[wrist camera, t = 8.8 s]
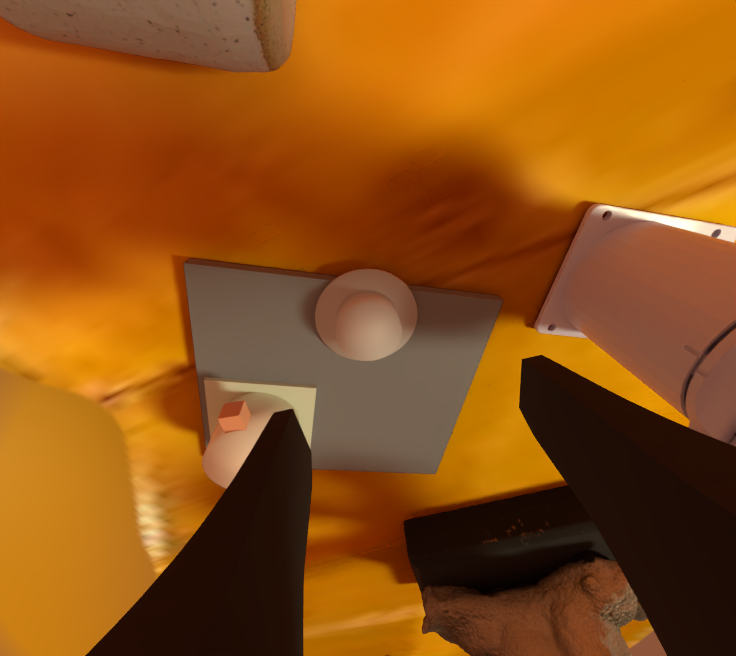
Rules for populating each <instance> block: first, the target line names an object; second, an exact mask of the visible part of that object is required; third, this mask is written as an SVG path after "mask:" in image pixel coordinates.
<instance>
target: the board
mask: <svg viewBox="0 0 736 656" xmlns="http://www.w3.org/2000/svg"><path fill="white" fill-rule="evenodd" d="M183 264H184V272H185V280H186V288H187V296H188V305H189V313H190V321H191V329H192V337H193V345H194V354H195V362H196V370H197V378H198V386H199V395H200V403H201V411H202V419H203V427H204V435H205V444H206V449H207V446H208V444H209V442H210V439H211V437H212V435H213V432H214V430H215V428H216V425H217V423H218V417H219V415H220V412H221V410H222V408H223V405H224V404H225V403H228V402H229V401H231V400H232V399H234V398H235V397H237V396H240V395H243V394H247V393H254V392H260V393H268V394H272V395H275V396H278V397H280V398H282V399H284V400H286V401H287V402H288V403H290V404H291V405H292V406H293V407H294V409H295V410H296V412H297V414H298V417H299V424H300V426H301V428H302V431H303V433H304V435H305V438H306V440H307V442H308V445H309V447H310V449H311V454H312V469H318V470H344V471H369V472H394V473H420V474H436V472H437V469H438V467H439V464H440V462H441V459H442V457H443V454H444V451H445V449H446V446H447V444H448V441H449V439H450V436H451V434H452V431H453V429H454V426H455V423H456V421H457V418H458V416H459V413H460V411H461V408H462V406H463V403H464V401H465V398H466V395H467V393H468V390H469V388H470V385H471V383H472V380H473V378H474V375H475V373H476V370H477V368H478V365H479V362H480V360H481V357H482V355H483V352H484V350H485V347H486V345H487V342H488V340H489V337H490V334H491V332H492V329H493V327H494V324H495V322H496V319H497V317H498V314H499V312H500V309H501V306H502V304H503V300H502V299H501V298H500V297H499V296H498V295H489V294H481V293H473V292H465V291H456V290H448V289H440V288H432V287H423V286H415V285H407V284H405V283H404V282H403V281H402V280H401V279H400V278H398V277H397V276H395V275H393V274H391V273H389V272H386V271H383V270H379V269H373V268H363V269H356V270H352V271H349V272H346V273H344V274H342V275H340V276H332V275H324V274H316V273H308V272H299V271H291V270H283V269H275V268H266V267H258V266H250V265H242V264H233V263H225V262H217V261H209V260H200V259H192V258H189V259H188V260H187V261H185V262H184V263H183Z"/></svg>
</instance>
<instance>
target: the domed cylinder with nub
mask: <svg viewBox="0 0 736 656" xmlns="http://www.w3.org/2000/svg"><path fill="white" fill-rule="evenodd" d="M288 409H293V410H294V412H295V414H296V417H297V419H298V421H299V417H298V414H297V412H296V410H295V409H294V407H293V406H292V405H291V404H290V403H288V402H287V401H286V400H284V399H282V398H280V397H278V396H275V395H272V394H268V393H260V392H254V393H247V394H243V395H240V396H237V397H235V398H234V399H232V400H231V401H229V402H228V403H225V404H224V405H223V408H222V410H221V412H220V415H219V417H218V423H217V425H216V428H215V430H214V432H213V435H212V437H211V439H210V442H209V444H208V446H207V449H206V451H205V453H204V456H203V460H202V465H203V469H204V471H205V473H206V474H207V476H208V477H209V478H210V479H211V480H212V481H213V482H215V483H216V484H218V485H219V486H221V487H223V488H226V489H227V488H228V486H229V485H230V483H231V482H232V480H233V479H234V477H235V476H236V474H237V472H238V471H239V469H240V468H241V466H242V464H243V463H244V461H245V460H246V458H247V456H248V455H249V453H250V451H251V450H252V448H253V446H254V445H255V443H256V441H257V440H258V438H259V436H260V435H261V433H262V431H263V429H264V428H265V426H266V424H267V423H268V421H269V419H270V418H271V416H272V415H273V413H274V412H279V411H283V410H288Z"/></svg>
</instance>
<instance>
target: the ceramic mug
mask: <svg viewBox="0 0 736 656" xmlns="http://www.w3.org/2000/svg"><path fill="white" fill-rule="evenodd" d="M295 9H296V0H0V17H1V18H3V19H4V20H6V21H8V22H9V23H11V24H13V25H14V26H16V27H17V28H19V29H21V30H24V31H26V32H28V33H30V34H32V35H35V36H38V37H41V38H43V39H47V40H52V41H58V42H64V43H70V44H77V45H83V46H88V47H94V48H100V49H105V50H111V51H117V52H122V53H128V54H134V55H139V56H145V57H151V58H157V59H167V60H172V61H178V62H183V63H189V64H194V65H200V66H205V67H210V68H216V69H221V70H226V71H232V72H269V71H274V70H277V69H278V68H280V67H281V66H282V65H283V64H284V63H285V62H286V60H287V59H288V58H289V55H290V52H291V48H292V41H293V33H294V22H295Z"/></svg>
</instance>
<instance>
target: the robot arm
mask: <svg viewBox="0 0 736 656" xmlns="http://www.w3.org/2000/svg"><path fill="white" fill-rule="evenodd" d="M606 211H607V214H606V216H605V217H604V218H603V219H602V216H603V214H604V213H605V212H606ZM712 233H713V234H712ZM735 240H736V227H733V226H728V225H722V224H716V223H711V222H705V221H699V220H693V219H687V218H681V217H675V216H669V215H664V214H658V213H652V212H646V211H640V210H634V209H628V208H622V207H617V206H611V205H605V204H594V205H592V206H591V207H589V208H588V210H587V211H586V214H585V216H584V218H583V220H582V222H581V224H580V227H579V229H578V231H577V233H576V235H575V237H574V240H573V242H572V244H571V246H570V248H569V250H568V253H567V255H566V257H565V259H564V261H563V263H562V266H561V268H560V270H559V272H558V274H557V276H556V279H555V281H554V283H553V285H552V287H551V289H550V292H549V294H548V296H547V298H546V300H545V302H544V305H543V307H542V309H541V311H540V313H539V316H538V318H537V320H536V322H535V325H534V327H535V329H536V330H537V331H538V332H539V333H544V334H553V335H563V336H572V337H582V338H589V339H590V340H591V341H593V342H594V343H595V344H596V345H598V346H599V347H600V348H601V349H602V350H604V351H605V352H606V353H607V354H609V355H610V356H611V357H612V358H614V359H615V360H616V361H617V362H619V363H620V364H621V365H622V366H623V367H625V368H626V369H627V370H628V371H630V372H631V373H632V374H633V375H635V376H636V377H637V378H638V379H640V380H641V381H642V382H643V383H644V384H646V385H647V386H648V387H649V388H651V389H652V390H653V391H654V392H656V393H657V394H658V395H659V396H661V397H662V398H663V399H664V400H666V401H667V402H668V403H669V404H670V405H672V406H673V407H674V408H675V409H677V410H678V411H679V412H680V413H682V414H683V415H684V416H685V417H687V418H688V419H689V420H690V424H689V427H685V426H683V425H681V424H678V423H676V422H674V421H671V420H669V419H667V418H665V417H663V416H660V415H658V414H656V413H654V412H652V411H650V410H647V409H645V408H643V407H641V406H639V405H637V404H635V403H633V402H631V401H629V400H627V399H625V398H622V397H620V396H618V395H617V394H615V393H613V392H611V391H609V390H607V389H605V388H603V387H601V386H599V385H597V384H595V383H593V382H592V381H590V380H588V379H586V378H584V377H582V376H580V375H578V374H577V373H575V372H573V371H571V370H569V369H567V368H566V367H564V366H562V365H560V364H558V363H556V362H554V361H552V360H551V359H549V358H547V357H545V356H543V355H539V356H535V357H530V358H525V359H522V367H521V384H520V402H519V408H520V410H521V412H522V414H523V416H524V418H525V420H526V422H527V424H528V426H529V427H530V429H531V431H532V433H533V435H534V436H535V438H536V439H537V441H538V442H539V444H540V445H541V447H542V448H543V450H544V451H545V452H546V454H547V455H548V457H549V458H550V460H551V461H552V463H553V464H554V465H555V467H556V468H557V470H558V471H559V472H560V474H561V475H562V477H563V478H564V479H565V481H566V482H567V484H568V485H569V487H570V488H571V489H572V491H573V492H574V494H575V495H576V496H577V498H578V499H579V501H580V502H581V504H582V505H583V506H584V508H585V510H586V511H587V513H588V514H589V516H590V517H591V519H592V520H593V522H594V523H595V525H596V527H597V529H598V530H599V532H600V534H601V535H602V537H603V539H604V541H605V542H606V544H607V546H608V547H609V549H610V551H611V553H612V554H613V556H614V558H615V559H616V561H617V563H618V565H619V567H620V568H621V570H622V572H623V574H624V576H625V578H626V579H627V581H628V583H629V585H630V587H631V588H632V590H633V592H634V594H635V596H636V597H637V599H638V601H639V603H640V605H641V607H642V609H643V610H644V612H645V614H646V616H647V618H648V620H649V622H650V624H651V626H652V628H653V629H654V631H655V633H656V635H657V637H658V639H659V641H660V643H661V645H662V646H663V648H664V650H665V652H666V654H667V656H736V243H734V241H735ZM551 324H552V326H551V327H550V328H548V327H549V325H551ZM311 492H312V454H311V449H310V447H309V445H308V442H307V440H306V438H305V435H304V433H303V431H302V428H301V426H300V424H299V421H298V419H297V417H296V414H295V412H294V410H293V409H288V410H283V411H279V412H274V413H273V415H272V416H271V418H270V419H269V421H268V423H267V424H266V426H265V428H264V429H263V431H262V433H261V435H260V436H259V438H258V440H257V441H256V443H255V445H254V446H253V448H252V450H251V451H250V453H249V455H248V456H247V458H246V460H245V461H244V463H243V464H242V466H241V468H240V469H239V471H238V472H237V474H236V476H235V477H234V479H233V480H232V482H231V483H230V485H229V486H228V488H227V489H226V490H225V492H224V493H223V495H222V496H221V498H220V499H219V501H218V502H217V504H216V505H215V507H214V508H213V509H212V511H211V512H210V514H209V515H208V516H207V518H206V519H205V520H204V522H203V523H202V524H201V526H200V527H199V528H198V530H197V531H196V532H195V534H194V535H193V536H192V538H191V539H190V540H189V541H188V543H187V544H186V545H185V546H184V548H183V549H182V550H181V551H180V553H179V554H178V555H177V556H176V557H175V559H174V560H173V561H172V562H171V563H170V564H169V566H168V567H167V568H166V569H165V570H164V571H163V573H162V574H161V575H160V576H159V577H158V578H157V579H156V581H155V582H154V583H153V584H152V585H151V586H150V588H149V589H148V590H147V591H146V592H145V593H144V594H143V596H142V597H141V598H140V599H139V600H138V601H137V602H136V603H135V604H134V605H133V607H132V608H131V609H130V610H129V611H128V612H127V613H126V614H125V615H124V616H123V617H122V618H121V619H120V620H119V622H118V623H117V624H116V625H115V626H114V627H113V628H112V629H111V630H110V631H109V632H108V633H107V634H106V635H105V636H104V637H103V638H102V639H101V640H100V641H99V642H98V643H97V644H96V645H95V646H94V648H93V649H92V650H91V651H90V652H89V653H88V654H87V655H85V656H303V586H304V566H305V555H306V544H307V534H308V524H309V514H310V503H311Z"/></svg>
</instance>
